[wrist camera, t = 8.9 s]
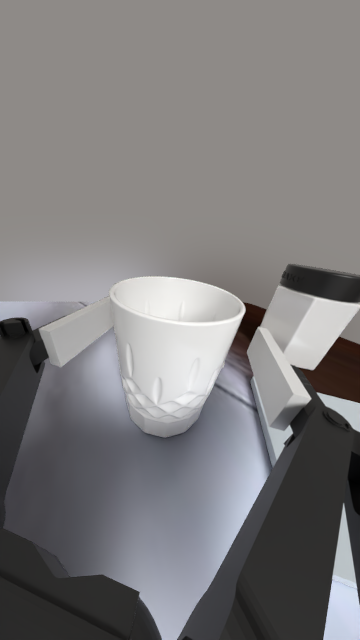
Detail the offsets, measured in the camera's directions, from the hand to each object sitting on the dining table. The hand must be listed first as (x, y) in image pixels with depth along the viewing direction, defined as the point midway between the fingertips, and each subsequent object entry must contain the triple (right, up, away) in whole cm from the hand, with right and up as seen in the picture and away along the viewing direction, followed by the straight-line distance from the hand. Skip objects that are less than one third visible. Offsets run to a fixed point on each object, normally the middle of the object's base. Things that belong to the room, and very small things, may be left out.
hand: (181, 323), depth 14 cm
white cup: (-1, -7, 0) cm, 7 cm away
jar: (+16, -4, +9) cm, 19 cm away
